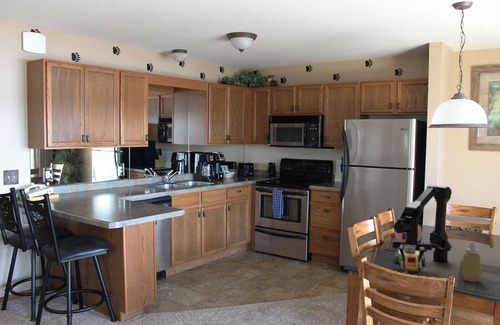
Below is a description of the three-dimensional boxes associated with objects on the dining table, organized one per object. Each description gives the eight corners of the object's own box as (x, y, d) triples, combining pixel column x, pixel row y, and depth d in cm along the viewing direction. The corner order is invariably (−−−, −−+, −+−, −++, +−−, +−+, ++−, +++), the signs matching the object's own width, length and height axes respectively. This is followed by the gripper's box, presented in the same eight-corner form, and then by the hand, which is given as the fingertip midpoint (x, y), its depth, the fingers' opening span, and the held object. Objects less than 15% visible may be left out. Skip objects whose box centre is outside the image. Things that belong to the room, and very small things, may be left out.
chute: (416, 264, 216) (416, 254, 216) (417, 269, 208) (418, 259, 207) (404, 263, 218) (404, 253, 217) (405, 268, 209) (405, 258, 209)
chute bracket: (420, 265, 216) (420, 261, 216) (422, 271, 206) (422, 267, 206) (400, 263, 219) (400, 259, 219) (401, 269, 208) (401, 265, 208)
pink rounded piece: (391, 247, 251) (392, 222, 250) (396, 240, 269) (396, 216, 268) (419, 251, 244) (420, 224, 243) (422, 243, 262) (423, 218, 261)
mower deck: (423, 260, 225) (423, 245, 224) (424, 265, 216) (425, 250, 215) (394, 258, 229) (395, 243, 228) (395, 263, 220) (395, 247, 219)
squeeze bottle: (474, 277, 198) (476, 239, 197) (484, 283, 190) (486, 243, 189) (457, 277, 198) (459, 239, 197) (467, 283, 190) (468, 243, 189)
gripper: (430, 229, 217) (429, 259, 218) (391, 226, 222) (391, 256, 223) (432, 233, 206) (431, 265, 207) (392, 231, 211) (391, 261, 212)
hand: (411, 261), depth 213 cm, fingers open, 7 cm apart
